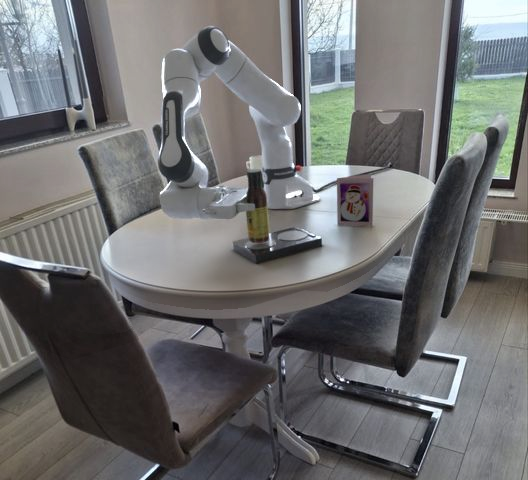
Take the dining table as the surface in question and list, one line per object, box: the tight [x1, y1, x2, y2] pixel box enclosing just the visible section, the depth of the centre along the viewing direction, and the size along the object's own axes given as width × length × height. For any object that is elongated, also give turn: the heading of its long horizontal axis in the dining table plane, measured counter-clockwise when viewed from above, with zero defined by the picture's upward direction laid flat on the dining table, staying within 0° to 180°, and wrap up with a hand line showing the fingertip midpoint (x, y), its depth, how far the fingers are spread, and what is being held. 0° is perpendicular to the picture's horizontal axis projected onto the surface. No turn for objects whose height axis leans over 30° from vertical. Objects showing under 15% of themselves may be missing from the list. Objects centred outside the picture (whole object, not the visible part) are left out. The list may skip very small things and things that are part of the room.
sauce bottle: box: [245, 169, 270, 243], centre depth 143 cm, size 7×6×20 cm
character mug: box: [245, 154, 264, 189], centre depth 220 cm, size 11×7×13 cm, turn 71°
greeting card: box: [336, 173, 374, 227], centre depth 163 cm, size 11×7×15 cm, turn 68°
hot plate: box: [232, 226, 323, 264], centre depth 151 cm, size 22×15×3 cm
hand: (259, 202), depth 142 cm, fingers closed on sauce bottle, 6 cm apart
